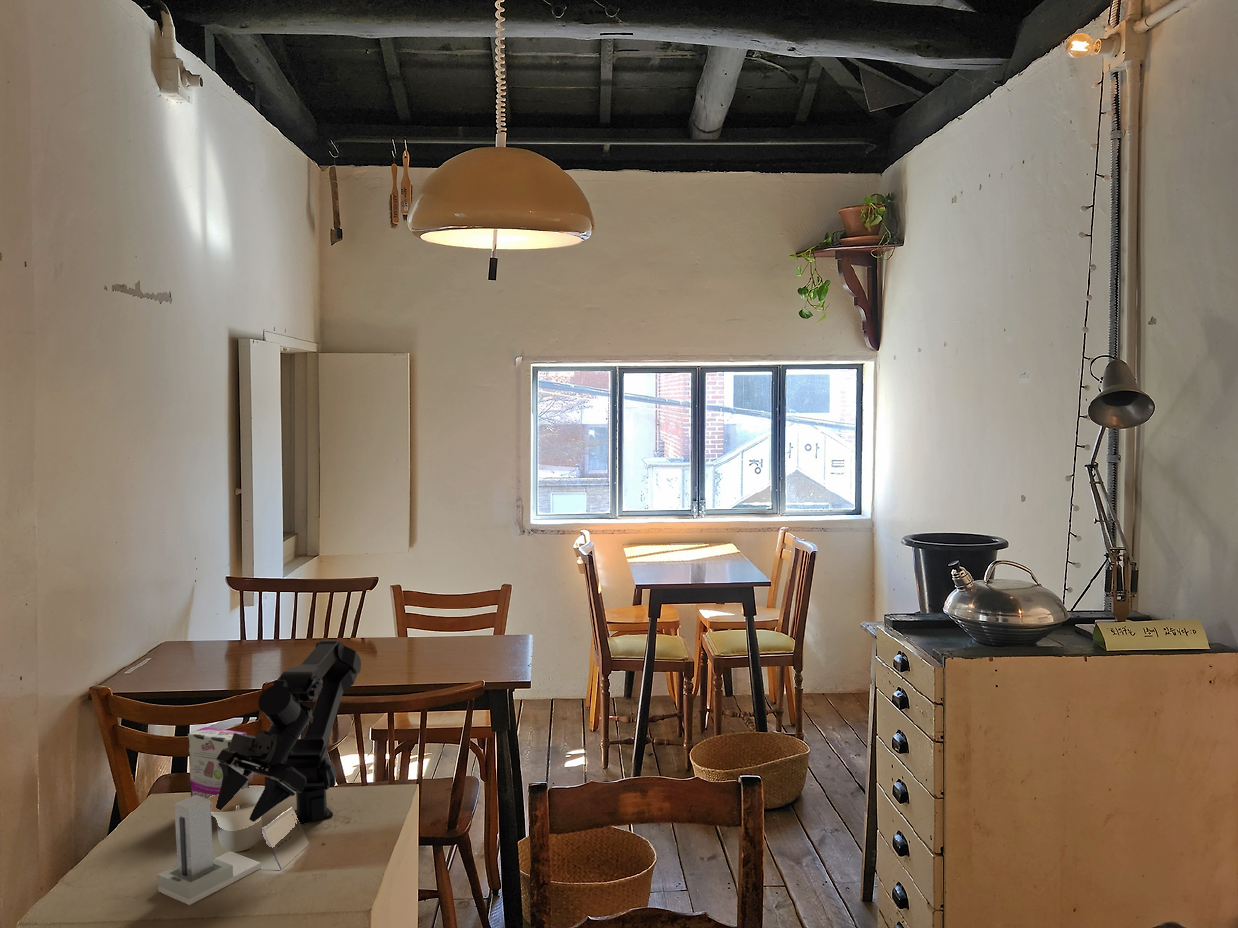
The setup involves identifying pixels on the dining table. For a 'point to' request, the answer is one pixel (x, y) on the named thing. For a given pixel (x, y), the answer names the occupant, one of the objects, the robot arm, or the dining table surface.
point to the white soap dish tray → (207, 878)
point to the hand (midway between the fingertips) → (234, 814)
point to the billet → (193, 838)
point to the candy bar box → (208, 760)
